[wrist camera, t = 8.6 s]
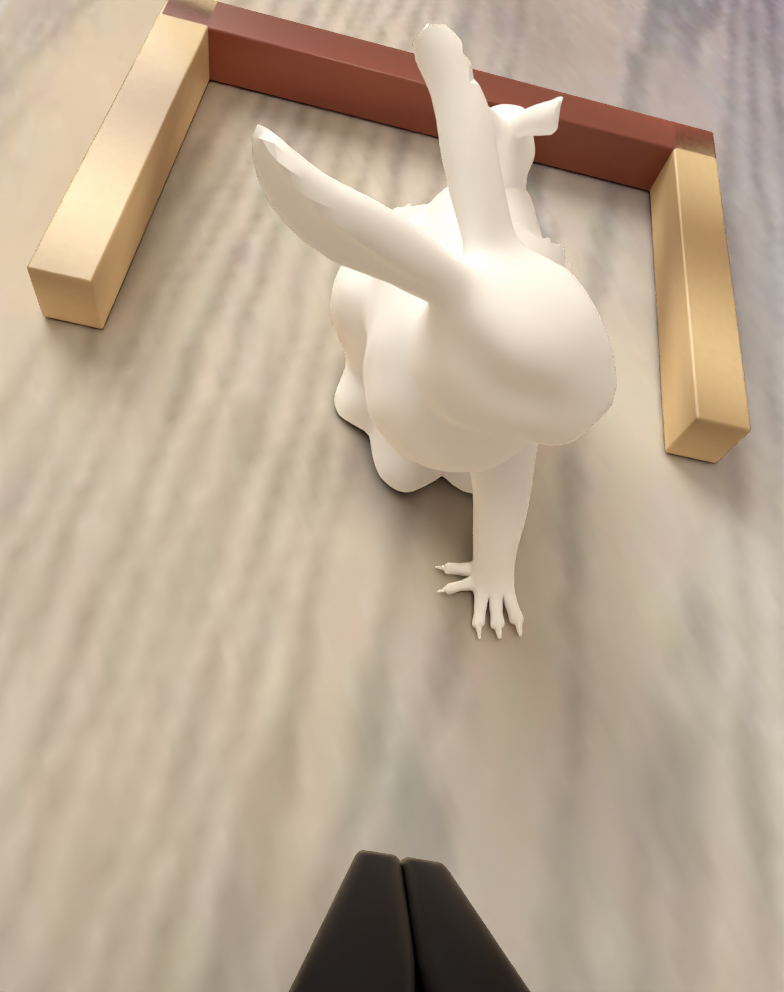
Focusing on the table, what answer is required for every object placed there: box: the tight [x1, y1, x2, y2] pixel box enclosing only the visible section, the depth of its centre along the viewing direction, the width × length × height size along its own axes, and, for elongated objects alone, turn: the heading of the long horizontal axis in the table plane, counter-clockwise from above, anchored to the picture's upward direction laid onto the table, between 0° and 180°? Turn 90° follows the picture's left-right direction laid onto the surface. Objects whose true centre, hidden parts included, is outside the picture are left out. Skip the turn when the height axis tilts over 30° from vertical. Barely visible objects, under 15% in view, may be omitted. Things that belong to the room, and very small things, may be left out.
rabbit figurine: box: [252, 23, 616, 639], centre depth 16 cm, size 12×8×10 cm, turn 172°
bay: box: [27, 0, 751, 463], centre depth 23 cm, size 13×19×2 cm
